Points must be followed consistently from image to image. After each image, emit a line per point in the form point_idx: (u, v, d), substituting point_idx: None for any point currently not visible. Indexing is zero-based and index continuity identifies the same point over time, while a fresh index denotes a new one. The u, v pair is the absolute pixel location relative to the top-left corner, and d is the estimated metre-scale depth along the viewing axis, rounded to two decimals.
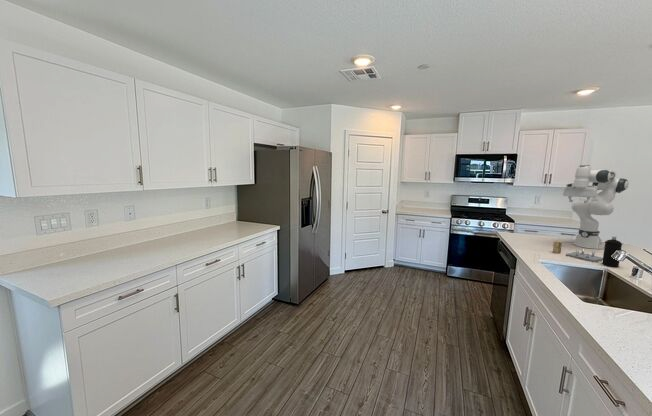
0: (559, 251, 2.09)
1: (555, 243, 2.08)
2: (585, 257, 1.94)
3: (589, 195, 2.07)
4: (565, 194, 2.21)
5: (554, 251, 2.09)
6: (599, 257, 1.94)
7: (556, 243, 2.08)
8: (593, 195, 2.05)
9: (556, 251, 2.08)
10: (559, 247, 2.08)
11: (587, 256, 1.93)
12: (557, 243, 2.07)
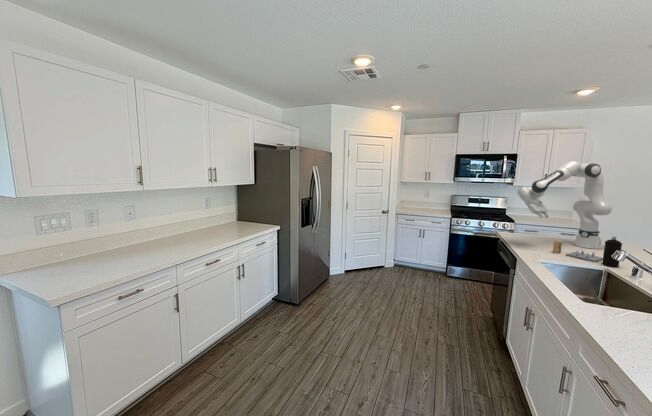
0: (559, 251, 2.09)
1: (555, 243, 2.08)
2: (585, 257, 1.94)
3: None
4: None
5: (554, 251, 2.09)
6: (599, 257, 1.94)
7: (556, 243, 2.08)
8: None
9: (556, 251, 2.08)
10: (559, 247, 2.08)
11: (587, 256, 1.93)
12: (557, 243, 2.07)
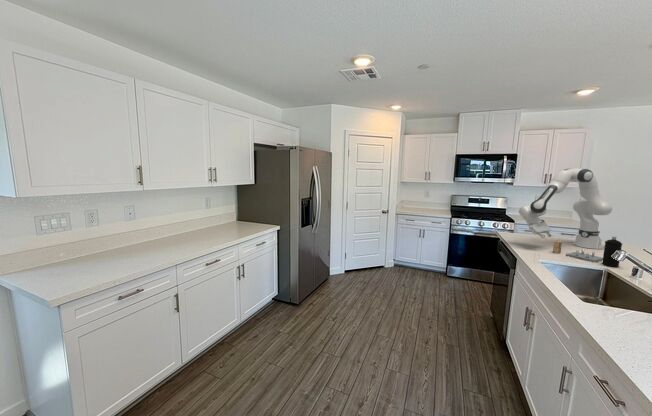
0: (559, 251, 2.09)
1: (555, 243, 2.08)
2: (585, 257, 1.94)
3: None
4: None
5: (554, 251, 2.09)
6: (599, 257, 1.94)
7: (556, 243, 2.08)
8: None
9: (556, 251, 2.08)
10: (559, 247, 2.08)
11: (587, 256, 1.93)
12: (557, 243, 2.07)
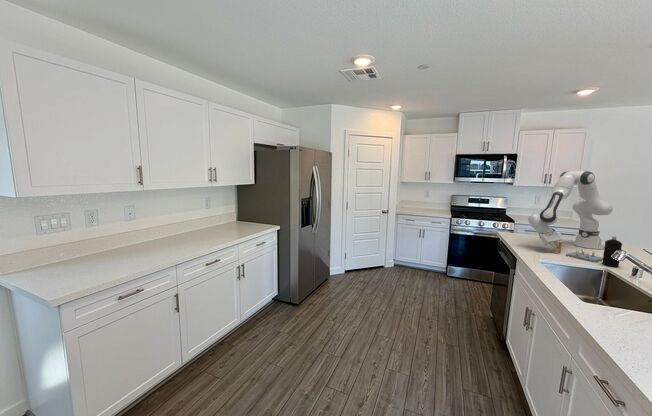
0: (559, 251, 2.09)
1: (555, 243, 2.08)
2: (585, 257, 1.94)
3: None
4: None
5: (554, 251, 2.09)
6: (599, 257, 1.94)
7: (556, 243, 2.08)
8: None
9: (556, 251, 2.08)
10: (559, 247, 2.08)
11: (587, 256, 1.93)
12: (557, 243, 2.07)
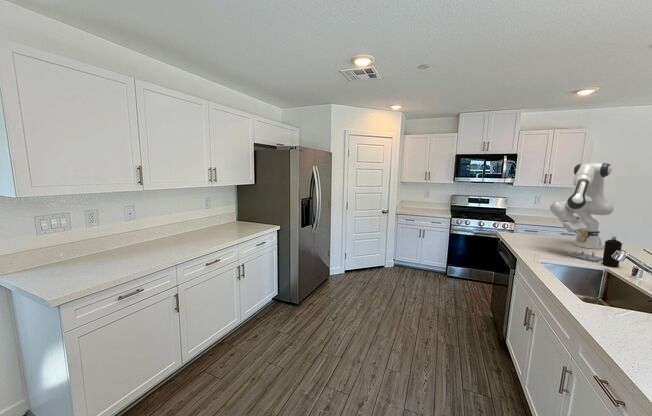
0: (585, 240, 1.97)
1: (580, 231, 1.97)
2: (585, 257, 1.94)
3: None
4: None
5: (579, 240, 1.97)
6: (599, 257, 1.94)
7: (581, 231, 1.96)
8: None
9: (581, 240, 1.96)
10: (584, 235, 1.96)
11: (587, 256, 1.93)
12: (583, 231, 1.95)
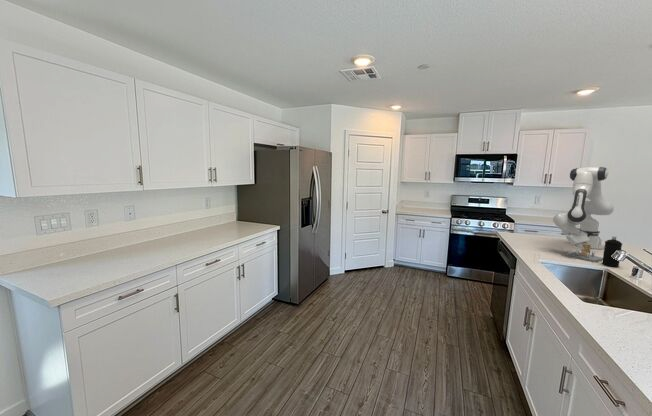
0: None
1: (583, 245, 1.96)
2: (585, 257, 1.94)
3: None
4: None
5: (582, 254, 1.97)
6: (599, 257, 1.94)
7: (585, 245, 1.95)
8: None
9: (585, 254, 1.95)
10: (587, 250, 1.95)
11: (587, 256, 1.93)
12: (586, 245, 1.95)
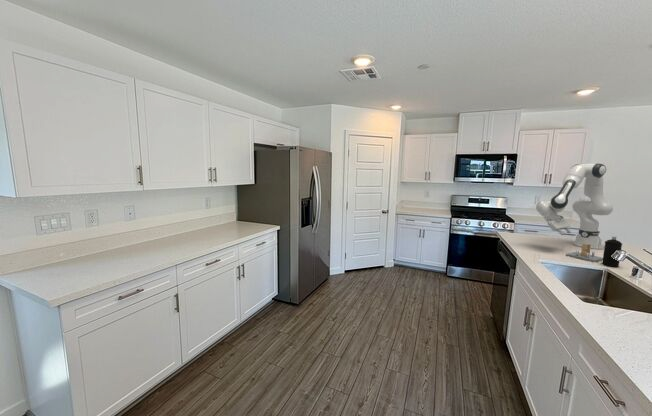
0: None
1: (583, 245, 1.96)
2: (585, 257, 1.94)
3: None
4: None
5: (582, 254, 1.97)
6: (599, 257, 1.94)
7: (585, 245, 1.95)
8: None
9: (585, 254, 1.95)
10: (587, 250, 1.95)
11: (587, 256, 1.93)
12: (586, 245, 1.95)
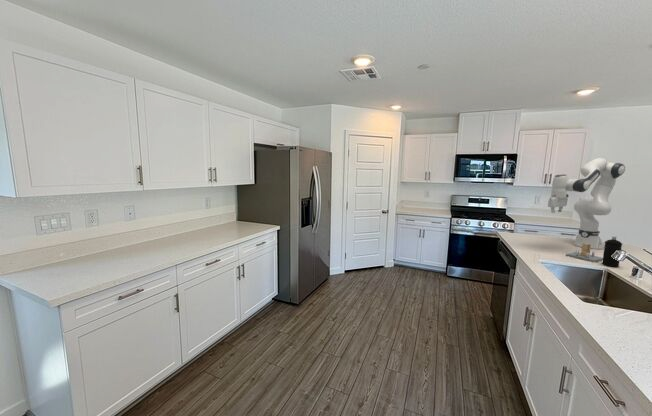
0: None
1: (583, 245, 1.96)
2: (585, 257, 1.94)
3: None
4: None
5: (582, 254, 1.97)
6: (599, 257, 1.94)
7: (585, 245, 1.95)
8: None
9: (585, 254, 1.95)
10: (587, 250, 1.95)
11: (587, 256, 1.93)
12: (586, 245, 1.95)
